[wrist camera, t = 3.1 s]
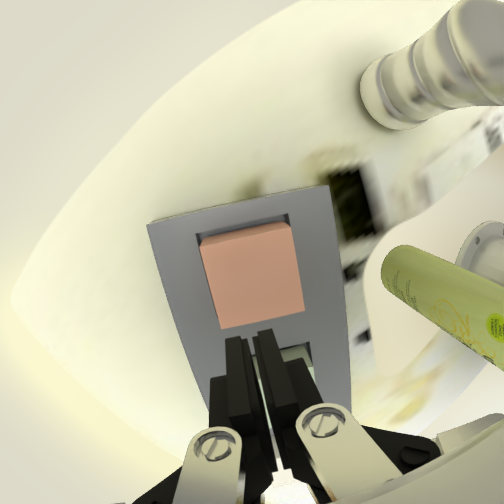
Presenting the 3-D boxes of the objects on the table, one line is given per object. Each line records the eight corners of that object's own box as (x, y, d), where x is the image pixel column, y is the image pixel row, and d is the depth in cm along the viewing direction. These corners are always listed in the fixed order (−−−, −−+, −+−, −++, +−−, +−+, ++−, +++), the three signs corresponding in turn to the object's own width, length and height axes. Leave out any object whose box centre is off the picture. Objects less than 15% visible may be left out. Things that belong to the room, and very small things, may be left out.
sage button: (303, 344, 25) (313, 366, 22) (310, 393, 27) (319, 416, 23) (236, 359, 25) (237, 383, 22) (250, 407, 27) (253, 431, 23)
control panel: (319, 184, 24) (328, 185, 22) (345, 443, 32) (351, 456, 29) (154, 220, 24) (146, 224, 22) (240, 467, 31) (241, 481, 29)
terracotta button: (281, 220, 23) (290, 227, 19) (295, 293, 24) (305, 310, 21) (203, 237, 23) (199, 247, 19) (222, 309, 24) (221, 329, 21)
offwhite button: (315, 425, 28) (322, 447, 24) (318, 454, 29) (325, 475, 26) (260, 437, 28) (263, 461, 24) (269, 465, 29) (273, 487, 26)
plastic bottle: (356, 132, 23) (561, 78, 4) (346, 62, 22) (497, -58, 2) (415, 135, 24) (602, 115, 4) (405, 70, 22) (563, 1, 3)
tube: (367, 288, 27) (514, 419, 8) (382, 236, 26) (565, 320, 7) (411, 296, 27) (551, 402, 8) (426, 248, 26) (588, 324, 7)
